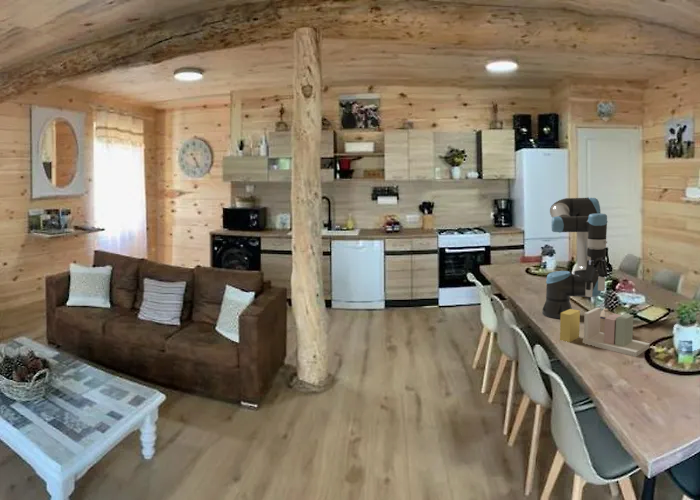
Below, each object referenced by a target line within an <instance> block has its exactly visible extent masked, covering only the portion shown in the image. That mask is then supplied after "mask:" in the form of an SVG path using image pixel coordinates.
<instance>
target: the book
mask: <svg viewBox="0 0 700 500" xmlns="http://www.w3.org/2000/svg"><path fill="white" fill-rule="evenodd" d="M580 316H581V310H578V309H573V308H572V309H569V310H566V311H564V312H562V313H561V316H560V318H559V319H560V323H559V326H560V327H559V329H560V330H559V341H562V340H563V342H566V341H567V343H572V342H573V341H575V340H577V339H579V338H580V321H581V319H580V318H581V317H580Z"/></svg>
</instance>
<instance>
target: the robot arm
mask: <svg viewBox="0 0 700 500" xmlns="http://www.w3.org/2000/svg"><path fill="white" fill-rule="evenodd" d="M549 214H550V217H551V231H552V232H553V233H559V234H560V233H576V254H577V255H576V261H577V268H576V269H575V270H574V271H573V274H572V273H571V271H568V270H557V271H552V272H549V273H548V274H547V276H546V281H545V283H546V289H545V290H546V291H545V292H546V293H545V302H544V305H543V307H542V311H541V312H542V315H543V316H544V317H548V318H550V319H551V318H552V319H560V316H561V313H562V312H564V311H566V310H569V309H573V307H572V303H571V297H575V298H576V297H577V298H579V297H580V298H581V297H583V298H598V297H599V296H600V295H601V293H602V292H605V288H606V287H605V285H606V278H607V277H608V270H607V263H606V256H607V249H606V247H607V244H608V241H607V231H608V230H607V229H608V223H609V222H608V215H607V214H606V213H601V204H600V201H599V200H598V198H596V197H589V196H587V197H568V198H567V197H566V198H562V199H559V200H556V202H554V203H553V204H552V205H551V207H550V209H549Z"/></svg>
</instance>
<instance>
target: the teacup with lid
mask: <svg viewBox="0 0 700 500" xmlns="http://www.w3.org/2000/svg"><path fill="white" fill-rule="evenodd" d="M613 314H615V313H614V312H612V311H609V309H608V308H603V309H602V310H601V314H600V332H601V333H604V329H605V318H607V317H609V316H611V315H613Z"/></svg>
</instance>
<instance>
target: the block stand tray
mask: <svg viewBox="0 0 700 500" xmlns="http://www.w3.org/2000/svg"><path fill="white" fill-rule="evenodd" d="M601 311H602V310H601V307H595V308H593V309H591V310H588V311H586V312H584V316H583V317H584V319H583V321H584V322H583V325H584V326H583V338H582V344H583V343H585V344H584V345H586V344H588V345H587V346H590V345H592V346H591V347H594V346H595V347H596V348H598V349H602V350H607V351H611V352H614V353H619V354H623V355H626V356H629V357H630V356H631V357H634V358H636V357H639V355H641V354H642V353H644V352H645V351H647V350H648V349H650V342H645V341H641V340H640V341H639V340H636V339H633V335H634V333H633V332H634V331H633V330H634V314H629V313H623V314H617V313H614V314H613V315H611V316H609V317H607V318H605V329H604V333H601V332H600V314H601ZM595 347H594V348H595Z"/></svg>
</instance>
